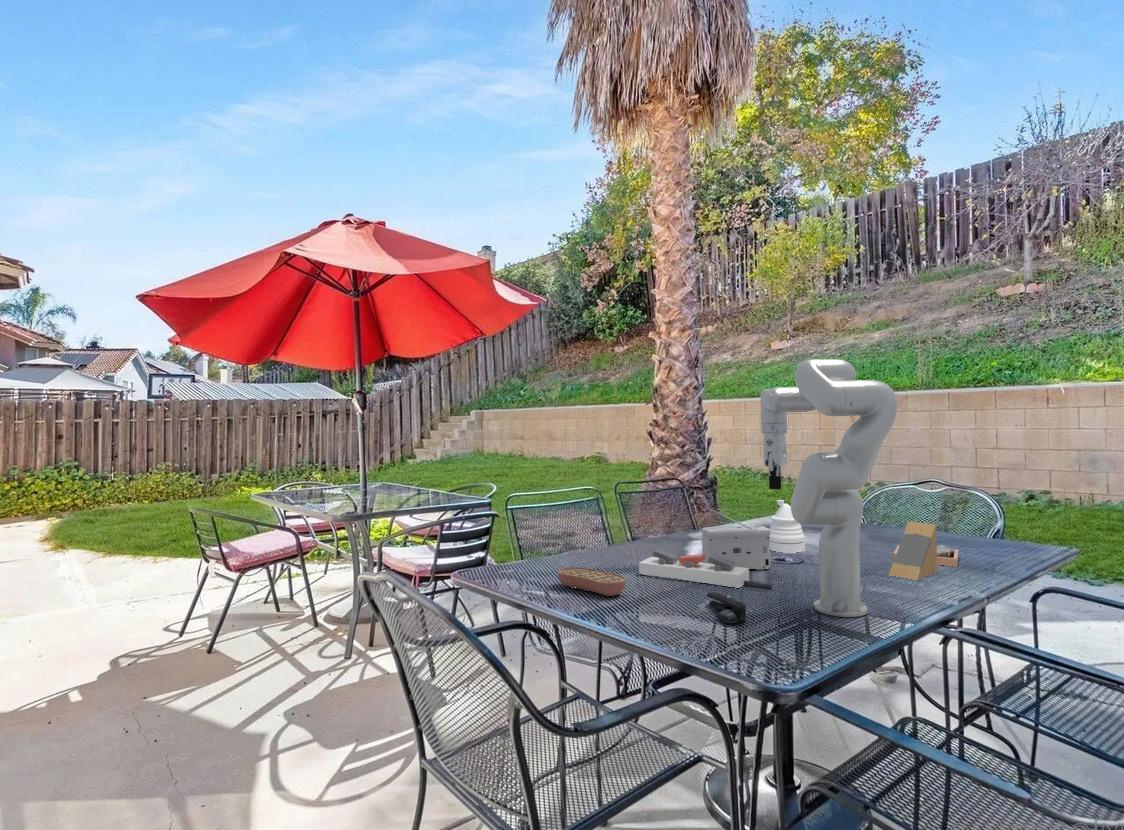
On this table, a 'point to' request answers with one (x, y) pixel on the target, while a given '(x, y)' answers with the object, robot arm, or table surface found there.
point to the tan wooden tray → (942, 559)
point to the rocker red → (692, 558)
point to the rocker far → (665, 556)
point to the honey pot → (786, 531)
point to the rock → (944, 552)
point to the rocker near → (721, 562)
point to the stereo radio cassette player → (738, 545)
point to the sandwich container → (916, 552)
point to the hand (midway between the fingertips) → (775, 488)
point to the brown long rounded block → (592, 580)
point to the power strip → (699, 572)
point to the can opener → (728, 608)
